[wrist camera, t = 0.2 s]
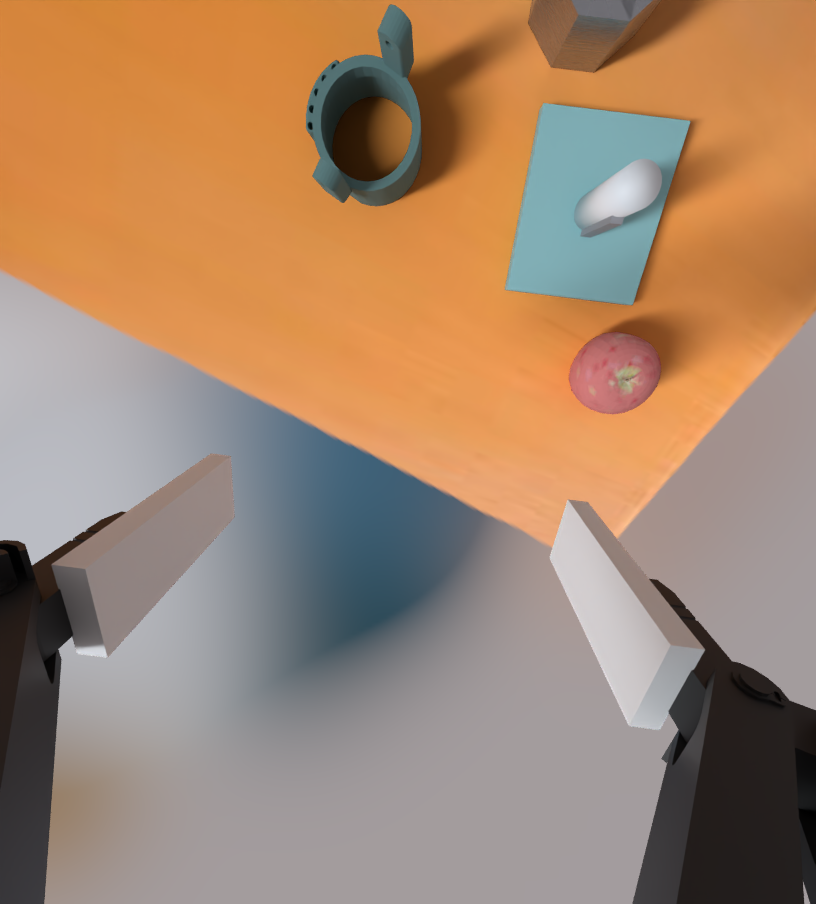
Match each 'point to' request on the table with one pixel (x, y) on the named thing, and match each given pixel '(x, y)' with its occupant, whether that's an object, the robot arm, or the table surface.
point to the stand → (592, 202)
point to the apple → (615, 373)
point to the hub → (586, 29)
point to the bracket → (355, 83)
